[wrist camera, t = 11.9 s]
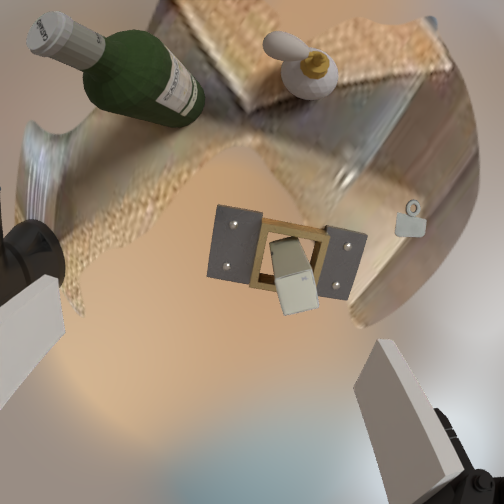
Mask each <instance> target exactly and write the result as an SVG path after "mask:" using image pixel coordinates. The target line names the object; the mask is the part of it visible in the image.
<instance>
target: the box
mask: <svg viewBox="0 0 504 504" xmlns="http://www.w3.org/2000/svg"><path fill="white" fill-rule="evenodd" d="M269 244H270V251H271V258H272V265H273V271H274V280H275V285H276V290H277V294H278V298H279V301H280V304H281V308H282V311H283V314H284V315H285V316H286V315H290V314H295V313H299V312H304V311H308V310H312V309H316V308H319V301H318V294H317V289H316V284H315V280H314V275H313V271H312V268H311V266H310V263H309V261H308V259H307V257H306V255H305V252H304V250H303V248H302V246H301V244H300V242H299V239H298V237H294V236H291V237H287V238H283V239H280V240H276V241H273V242H270V243H269Z"/></svg>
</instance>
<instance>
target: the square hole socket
mask: <svg viewBox="0 0 504 504" xmlns="http://www.w3.org/2000/svg"><path fill="white" fill-rule="evenodd" d="M262 216H263V213H262V212H258V211H253V210H247V209H241V208H236V207H230V206H225V205H217V209H216V216H215V222H214V229H213V235H212V242H211V249H210V256H209V263H208V271H207V277H210V278H216V279H221V280H226V281H232V282H237V283H243V284H249V281H250V284H249V287H251V288H256V289H262V290H268V291H274V292H277V290H276V285H275V280H274V275H268V274H262V273H260V268H261V263H262V259H263V253H264V249H265V244H266V239H267V235H268V232H273V233H278V234H284V235H289V236H294V237H299V238H304V239H310V240H315V241H316V242H315V245H314V249H313V253H312V257H311V261H310V266H311V268H312V271H313V275H314V280H315V284H316V289H317V294H318V296H321V297H327V298H334V299H340V300H348V297H349V294H350V291H351V288H352V285H353V282H354V279H355V276H356V273H357V270H358V267H359V264H360V260H361V257H362V254H363V250H364V247H365V244H366V240H367V237H368V235H366V234H364V233H360V232H356V231H351V230H347V229H342V228H337V227H333V226H328V225H326V228H325V230H323V229H318V228H313V227H308V226H303V225H298V224H293V223H288V222H283V221H278V220H273V219H268V218H262Z"/></svg>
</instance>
